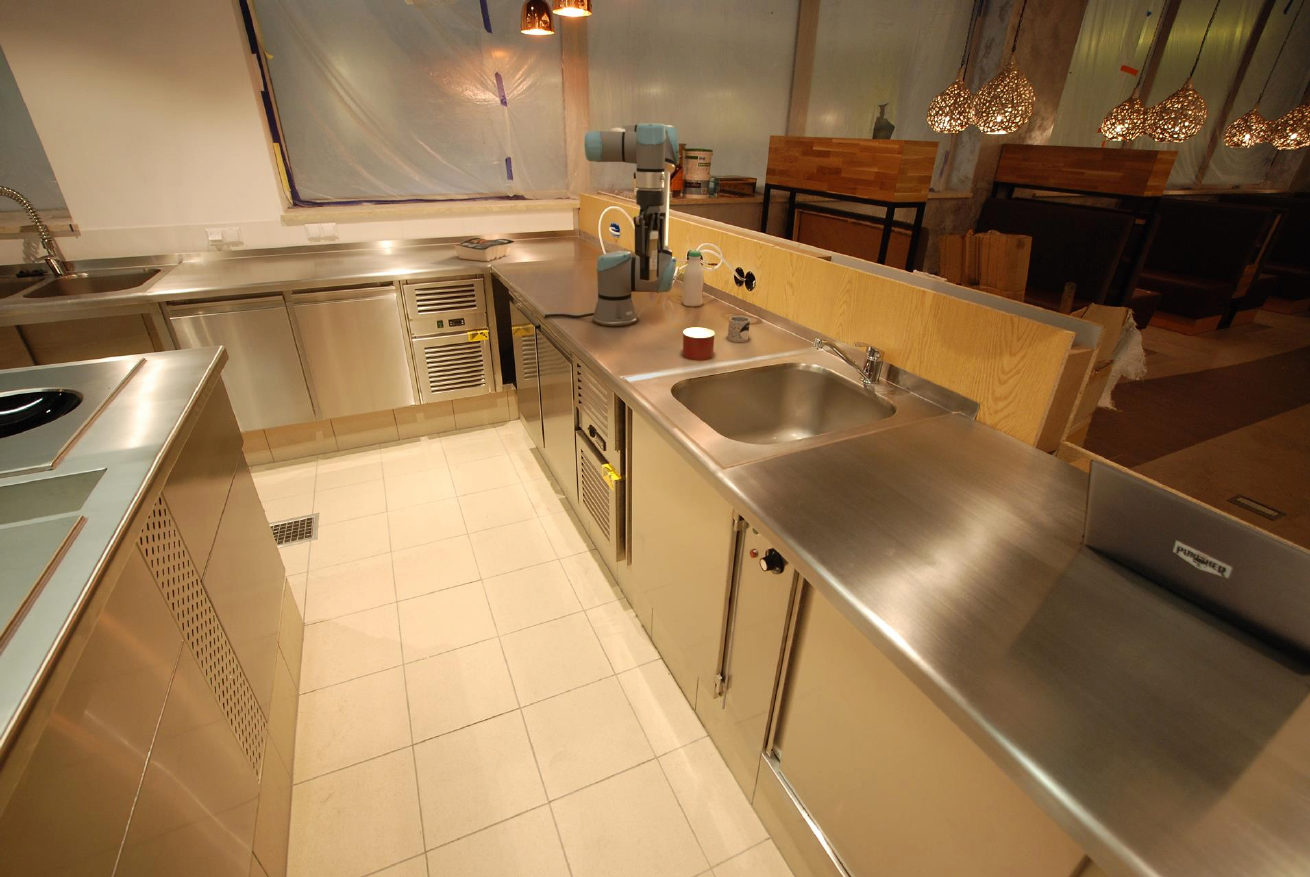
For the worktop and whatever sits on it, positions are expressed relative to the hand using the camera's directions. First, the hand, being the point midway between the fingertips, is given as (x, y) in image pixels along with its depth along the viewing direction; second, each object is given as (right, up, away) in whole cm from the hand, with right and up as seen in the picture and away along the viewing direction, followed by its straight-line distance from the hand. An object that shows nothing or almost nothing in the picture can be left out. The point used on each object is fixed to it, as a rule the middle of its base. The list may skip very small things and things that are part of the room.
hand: (649, 277), depth 163 cm
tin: (+15, -20, +11) cm, 27 cm away
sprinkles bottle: (0, -1, 0) cm, 1 cm away
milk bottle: (+16, +6, +60) cm, 63 cm away
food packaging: (-87, +48, +133) cm, 166 cm away
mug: (+30, -13, +25) cm, 41 cm away
